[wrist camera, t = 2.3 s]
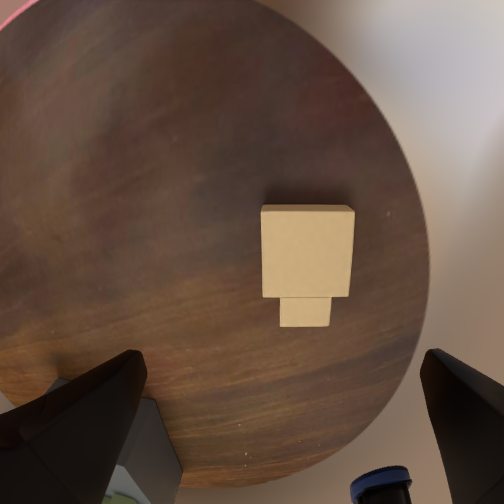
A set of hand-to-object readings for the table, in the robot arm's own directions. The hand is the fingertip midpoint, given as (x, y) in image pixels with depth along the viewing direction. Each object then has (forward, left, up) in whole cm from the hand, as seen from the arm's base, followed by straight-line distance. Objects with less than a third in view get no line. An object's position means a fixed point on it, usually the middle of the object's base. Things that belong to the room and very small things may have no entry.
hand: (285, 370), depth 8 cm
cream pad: (-1, +1, -11) cm, 11 cm away
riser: (+17, +21, -11) cm, 29 cm away
